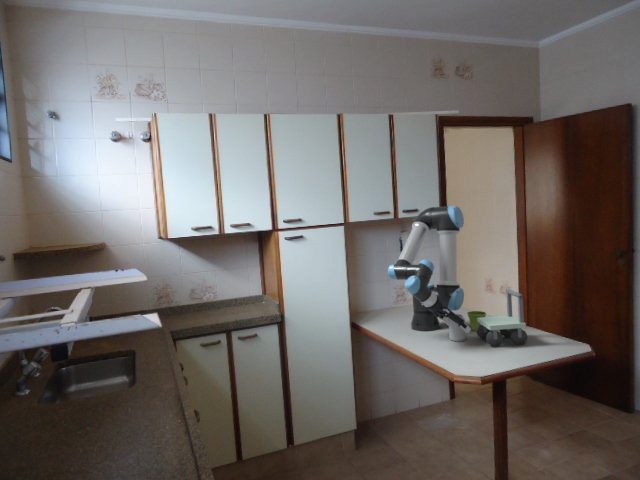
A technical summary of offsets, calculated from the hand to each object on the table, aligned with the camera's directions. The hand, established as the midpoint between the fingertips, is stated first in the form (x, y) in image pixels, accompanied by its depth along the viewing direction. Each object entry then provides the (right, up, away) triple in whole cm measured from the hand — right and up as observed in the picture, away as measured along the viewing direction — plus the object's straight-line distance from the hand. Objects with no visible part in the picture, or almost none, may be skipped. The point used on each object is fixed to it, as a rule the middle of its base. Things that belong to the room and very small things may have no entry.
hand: (460, 328), depth 221 cm
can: (-1, -6, 0) cm, 6 cm away
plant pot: (+13, -4, +15) cm, 21 cm away
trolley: (+17, -5, -8) cm, 19 cm away
